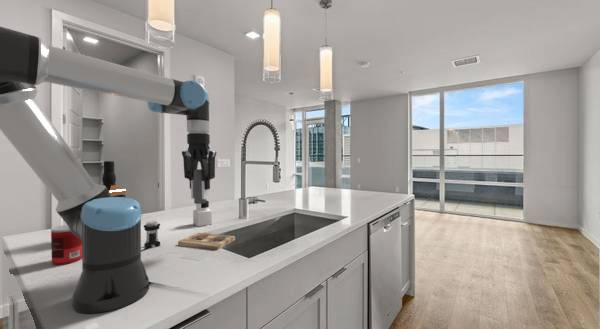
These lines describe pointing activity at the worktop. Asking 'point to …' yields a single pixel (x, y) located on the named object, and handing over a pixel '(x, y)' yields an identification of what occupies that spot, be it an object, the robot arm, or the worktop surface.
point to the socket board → (207, 241)
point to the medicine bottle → (202, 214)
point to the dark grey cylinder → (198, 186)
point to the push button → (151, 235)
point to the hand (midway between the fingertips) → (200, 198)
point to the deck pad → (196, 254)
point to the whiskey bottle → (112, 180)
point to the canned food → (65, 246)
